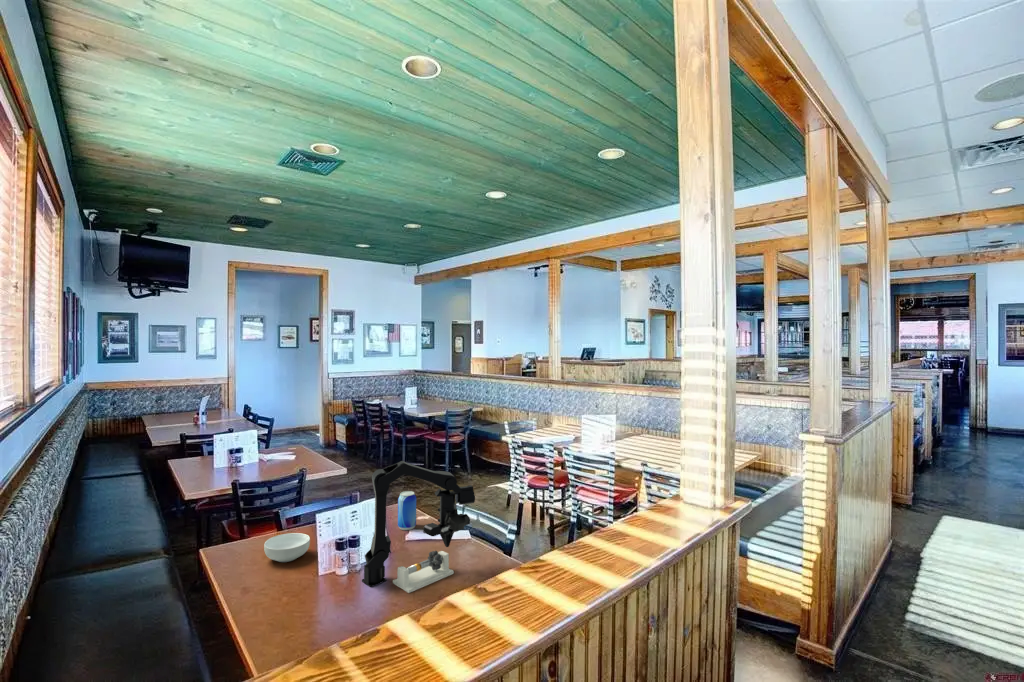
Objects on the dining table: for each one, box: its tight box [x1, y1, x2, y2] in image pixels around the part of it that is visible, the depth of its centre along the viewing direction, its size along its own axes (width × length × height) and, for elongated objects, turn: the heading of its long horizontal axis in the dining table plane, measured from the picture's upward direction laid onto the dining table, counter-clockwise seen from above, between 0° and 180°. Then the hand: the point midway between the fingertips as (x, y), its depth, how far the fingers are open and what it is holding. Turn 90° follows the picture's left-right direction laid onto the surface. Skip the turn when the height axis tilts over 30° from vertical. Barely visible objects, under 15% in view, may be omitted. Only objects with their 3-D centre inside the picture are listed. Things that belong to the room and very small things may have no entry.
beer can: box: [397, 490, 417, 531], centre depth 231 cm, size 8×8×16 cm
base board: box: [392, 550, 455, 594], centre depth 181 cm, size 20×10×6 cm, turn 136°
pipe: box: [406, 555, 443, 574], centre depth 181 cm, size 18×3×3 cm, turn 136°
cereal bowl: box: [263, 532, 311, 563], centre depth 198 cm, size 17×17×7 cm
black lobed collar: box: [427, 550, 442, 570], centre depth 185 cm, size 2×7×7 cm, turn 46°
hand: (447, 546), depth 189 cm, fingers closed
